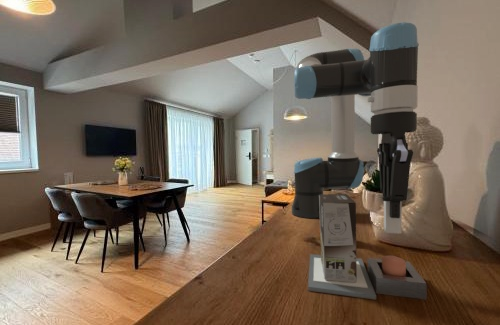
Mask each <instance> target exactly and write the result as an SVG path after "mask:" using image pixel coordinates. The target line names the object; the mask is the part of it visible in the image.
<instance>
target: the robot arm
mask: <svg viewBox="0 0 500 325" xmlns="http://www.w3.org/2000/svg"><path fill="white" fill-rule="evenodd" d="M369 44H370V45H369V49H368V51H369V57H368V58H367V59H365V57H364V54H363V52H362V50H361V49H360V48H344V49H339V50H331V51H324V52H323V51H321V52H316V53H313V54H310V55H307V56H306V57H304V58H303V59H301V60H300V61H299V62H297V66H296V67H295V69H294V71H293V79H294V80H293V83H294V87H293V88H294V96H295V98H296V99H298V100H301V99H302V100H304V99H306V100H312V99H317V98H329V97H330V101H331V102H330V104H331V105H330V107H331V109H330V110H331V111H330V113H331V114H330V115H331V117H330V118H331V128H330V129H331V130H330V131H331V152H330V153H329V154H328V156H327V160H323V158H322V157H313V158H306V159H302V160H298V161H296V162H295V163H294V166H293V167H294V171H293V174H294V198H293V201H292V204H291V214H292V215H294V216H295V217H299V218H305V219H316V218H319V219H320V212H319V195H324V189H325V190H326V189H327V190H328V189H330V190H331V189H334V190H335V189H338V190H339V189H344V190H345V189H346V190H349V189H356V188H357V189H358V188H359V187H360V186H361V184H362V182H363V180H364V175H365V168H364V164H365V163H364V162H363V160H362V159H359V157H360V156H359V154H357V153H356V151H355V130H356V129H355V125H356V124H355V121H356V120H355V113H356V112H355V110H356V109H355V108H356V107H355V106H356V105H355V103H356V102H355V98H356V97H355V96H357V95H359V96H361V97H368V98H367V103H370V113H371V114H374V115H371V117H370V133H371V134H372V135H381V141H380V143H379V144H378V147H377V150H376V152H377V157H378V171H379V184H380V185H379V186H380V189H379V190H380V193H381V194H382V201H383V231H384V232H385V233H386V234H402V219H403V218H402V210H403V208H402V203H403V202H404V201H407V199H408V198H407V197H408V190H409V188H408V187H409V178H410V171H411V162H412V160H413V157H414V156H413V155H414V151H413V149H409V143H408V142H407V138H406V133H414V132H416V131H417V129H418V128H417V127H418V126H417V125H418V124H417V122H418V120H417V119H418V113H417V112H416V111H414V110H416V109H417V108H418V53H419V52H418V51H419V44H420V43H419V42H418V28H417V26H416V25H415V24H414V23H411V22H405V21H404V22H398V23H397V22H396V23H392V24H389V25H386V26H383V27H382V28H380V29H378V30H377V31H375V32H374V33H373V34H372V35H371V37H370V43H369Z"/></svg>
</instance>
